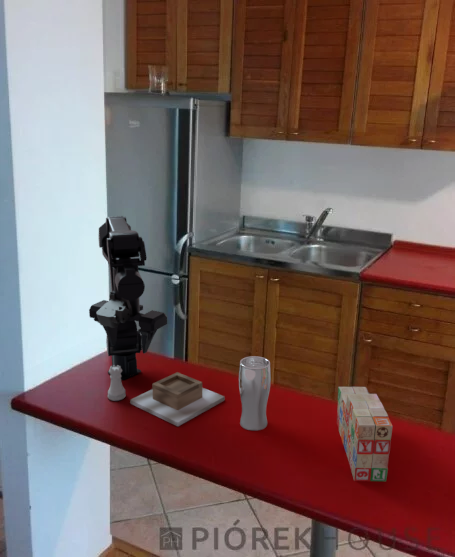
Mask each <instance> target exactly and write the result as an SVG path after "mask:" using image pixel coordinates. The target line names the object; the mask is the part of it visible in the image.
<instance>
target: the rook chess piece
mask: <svg viewBox="0 0 455 557" xmlns="http://www.w3.org/2000/svg"><path fill="white" fill-rule="evenodd" d="M108 371H109V373H110V374H109V375H110V376H109V379H110V386H109V389H108V390H107V398H108V399H109V401H114V402H118V401H122V400H123V399H124V398H125V397H126V395H127V394H126V389H125V387H124V386H123V383H122V379H121V377H122V376H121V372H122V369H121V367H120V366H119V365H117V367H115V365H113V367H112V365H110V367H109V370H108Z"/></svg>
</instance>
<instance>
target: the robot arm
mask: <svg viewBox="0 0 455 557" xmlns="http://www.w3.org/2000/svg"><path fill="white" fill-rule="evenodd" d="M98 246H99V248H101V254H102V256H103V258H104V259H105V260H106V261H107V263H108V265H109V267H108V268H109V276H110V279H109V280H110V289H111V290H110V292H109V299H108V300H105V299H103V300H101V301H98V302H96V303H93V304H91V306H90V307H89V309H88V311H89V312H88V313H89V318H91V319H93V321H94V322H97V324H99V325H100V326H102V328H103V329H104V331H105V334H106V339H105V340H106V341H105V342H106V343H105V344H106V351H107V352H106V353H107V357H111V366H112V367H113V365H115V367H117V365H119V366H120V367H121V369H122V372H121V376H122V377H121V381H122V380H123V381H124V380H127V379H129V378H131V377H133V376H135V375H138V374H140V373H142V370H141V369H139V368H138V359H137V354H141V352H142V354H146V353H148V350H149V347H150V345H151V343H152V341H153V339H154V336H155V334H156V333H157V331H158V330H159V329H161V328H162V327H165V326H166V325H167V324H168V316H167V315H166V313H165V312H162V311H157V310H153V309H152V310H150V311H148V312H146V313H141V311H143V310H144V306H143V305H142V304H141V303H140V298H141V296H142V295H143V294H144V292H145V282H144V280H143V278H142V275H141V273H140V272H139V267H142V266H145V265H146V263H145V262H146V261H147V250H146V245H145V240H143V237H142V236H140V235H139V232H137V231H136V230H132V226H131V225H130V224H129V223H128V222H127V217H126V216H124V215H117V216H115V215H114V216H111V215H110V216H108V217H106V218H105V222H104V223H103V224H102V225H101V226H100V227H98ZM137 322H138V323H137ZM137 324H138V326H139V329H138V326H137ZM107 374H108V375H111V374H110V373H109V370H108V371H107Z"/></svg>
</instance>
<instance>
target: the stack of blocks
mask: <svg viewBox="0 0 455 557" xmlns="http://www.w3.org/2000/svg"><path fill="white" fill-rule="evenodd" d="M336 425H337V427H338V432H339V435H340V438H341V443H342V445H343V447H344V451H345V453H346V454H345V455H346V457H347V460H348V465H349V469H350V472H351V474H352V478H353V481H354V482H387V477H388V471H389V468H388V466H389V459H390V457H389V456H390V454H391V453H390V451H391V446H392V445H391V444H392V443H391V442H392V440H391V439H392V433H393V424H392V422H391V420H390V418H389V414H388V413H387V411H386V409H385V406H384V405H383V403H382V401H381V400H380V398H379V396H378V394H377V393H370V392H369V390H368V388H367V387H366V386H338V387H337V415H336Z"/></svg>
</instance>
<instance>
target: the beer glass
mask: <svg viewBox="0 0 455 557" xmlns="http://www.w3.org/2000/svg"><path fill="white" fill-rule="evenodd" d="M270 361H271V360H269V359H267V358H266V357H262V356H257V355H256V356H255V355H253V356H252V355H251V356H245V357H244V358H241V359H240V361H239V371H238V389H239V395H240V401H241V416H240V419H239V420H240V422H239V424H240V426H241V427H242V428H243V429H244V430H248V431H256V432H257V431H261V430H264V429H265V428H266V427H267V426H268V419H267V405H268V399H269V395H270V391H271V381H272V380H271V374H272V373H271V362H270Z"/></svg>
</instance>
